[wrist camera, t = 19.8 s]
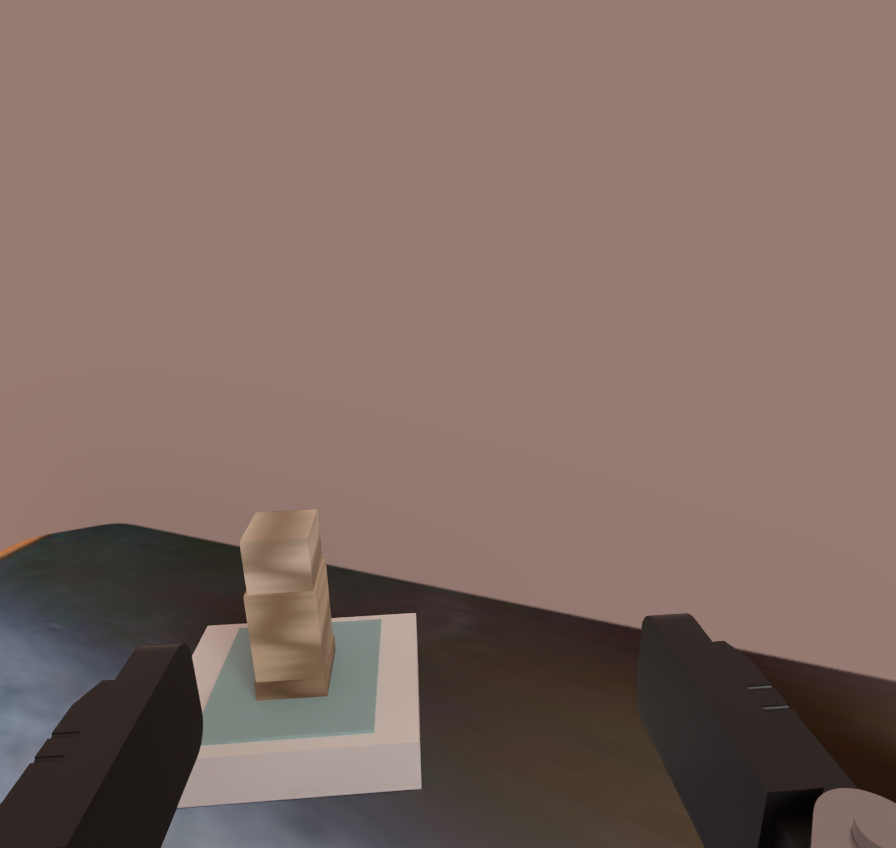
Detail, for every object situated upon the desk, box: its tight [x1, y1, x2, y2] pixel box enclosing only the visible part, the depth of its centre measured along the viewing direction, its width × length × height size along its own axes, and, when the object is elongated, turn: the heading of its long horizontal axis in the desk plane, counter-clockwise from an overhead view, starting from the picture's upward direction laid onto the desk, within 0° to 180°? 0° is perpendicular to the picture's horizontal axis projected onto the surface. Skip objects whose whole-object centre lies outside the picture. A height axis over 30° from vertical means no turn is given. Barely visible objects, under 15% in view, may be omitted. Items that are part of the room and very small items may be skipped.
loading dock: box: [177, 613, 421, 808], centre depth 45 cm, size 18×14×4 cm
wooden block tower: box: [240, 509, 336, 701], centre depth 42 cm, size 5×5×12 cm
